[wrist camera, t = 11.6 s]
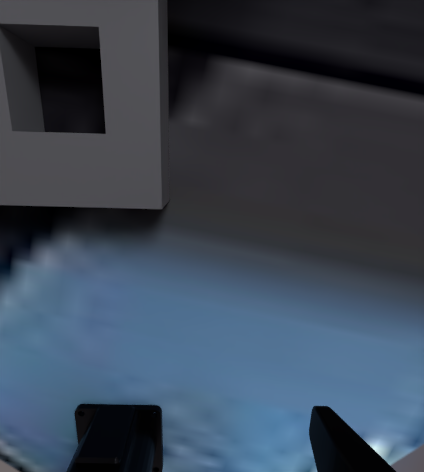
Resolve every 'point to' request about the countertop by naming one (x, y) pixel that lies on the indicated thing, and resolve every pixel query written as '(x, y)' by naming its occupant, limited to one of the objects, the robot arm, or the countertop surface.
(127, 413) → the robot arm
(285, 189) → the countertop surface
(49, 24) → the grey square frame
